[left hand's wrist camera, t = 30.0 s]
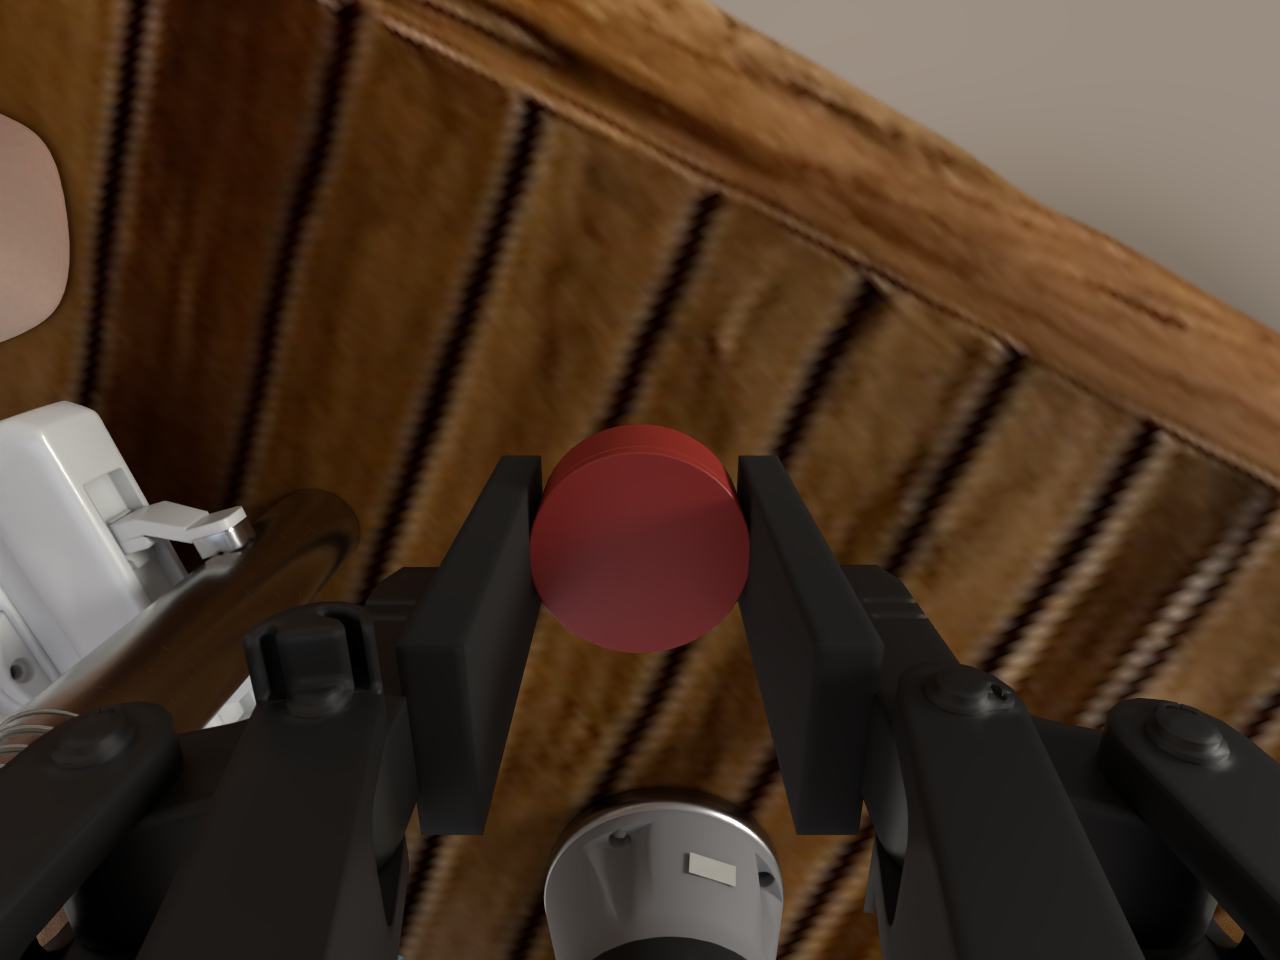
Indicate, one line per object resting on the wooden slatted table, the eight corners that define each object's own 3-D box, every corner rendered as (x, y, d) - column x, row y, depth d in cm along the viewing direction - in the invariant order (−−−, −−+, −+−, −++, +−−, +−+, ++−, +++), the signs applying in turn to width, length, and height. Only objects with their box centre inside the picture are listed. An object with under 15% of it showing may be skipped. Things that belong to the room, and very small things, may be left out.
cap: (614, 636, 15) (611, 687, 14) (500, 493, 14) (481, 530, 12) (775, 543, 14) (793, 584, 13) (668, 383, 13) (672, 407, 12)
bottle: (276, 560, 39) (-160, 972, 18) (273, 483, 38) (-208, 834, 16) (360, 570, 40) (29, 990, 18) (360, 494, 38) (-1, 854, 16)
